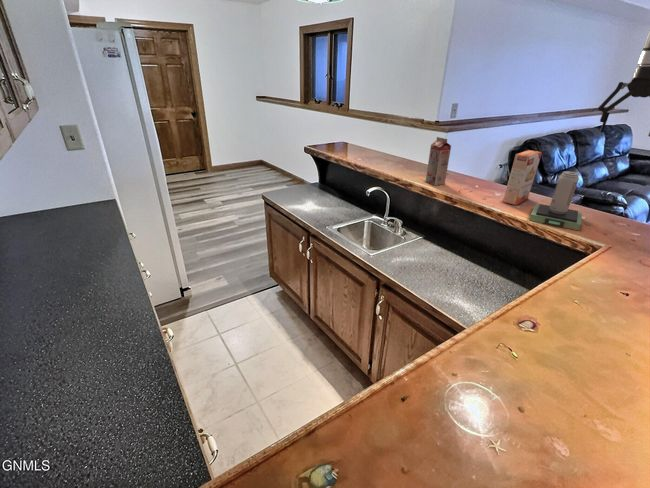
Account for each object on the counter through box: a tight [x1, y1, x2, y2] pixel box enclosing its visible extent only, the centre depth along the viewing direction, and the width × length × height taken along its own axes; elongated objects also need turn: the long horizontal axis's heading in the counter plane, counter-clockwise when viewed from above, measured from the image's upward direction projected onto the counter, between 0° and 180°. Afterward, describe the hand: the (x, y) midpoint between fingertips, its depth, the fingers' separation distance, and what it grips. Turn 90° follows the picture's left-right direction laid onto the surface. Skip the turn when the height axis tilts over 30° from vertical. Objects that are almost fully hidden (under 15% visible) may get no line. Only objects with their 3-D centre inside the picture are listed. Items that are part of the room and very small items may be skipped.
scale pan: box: [536, 203, 579, 222], centre depth 133 cm, size 13×12×1 cm
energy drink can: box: [549, 170, 580, 214], centre depth 130 cm, size 6×6×15 cm
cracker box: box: [502, 149, 543, 206], centre depth 149 cm, size 14×6×21 cm, turn 132°
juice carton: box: [425, 136, 452, 186], centre depth 171 cm, size 7×7×22 cm
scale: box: [529, 204, 583, 231], centre depth 133 cm, size 16×15×2 cm
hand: (624, 134), depth 122 cm, fingers open, 13 cm apart
